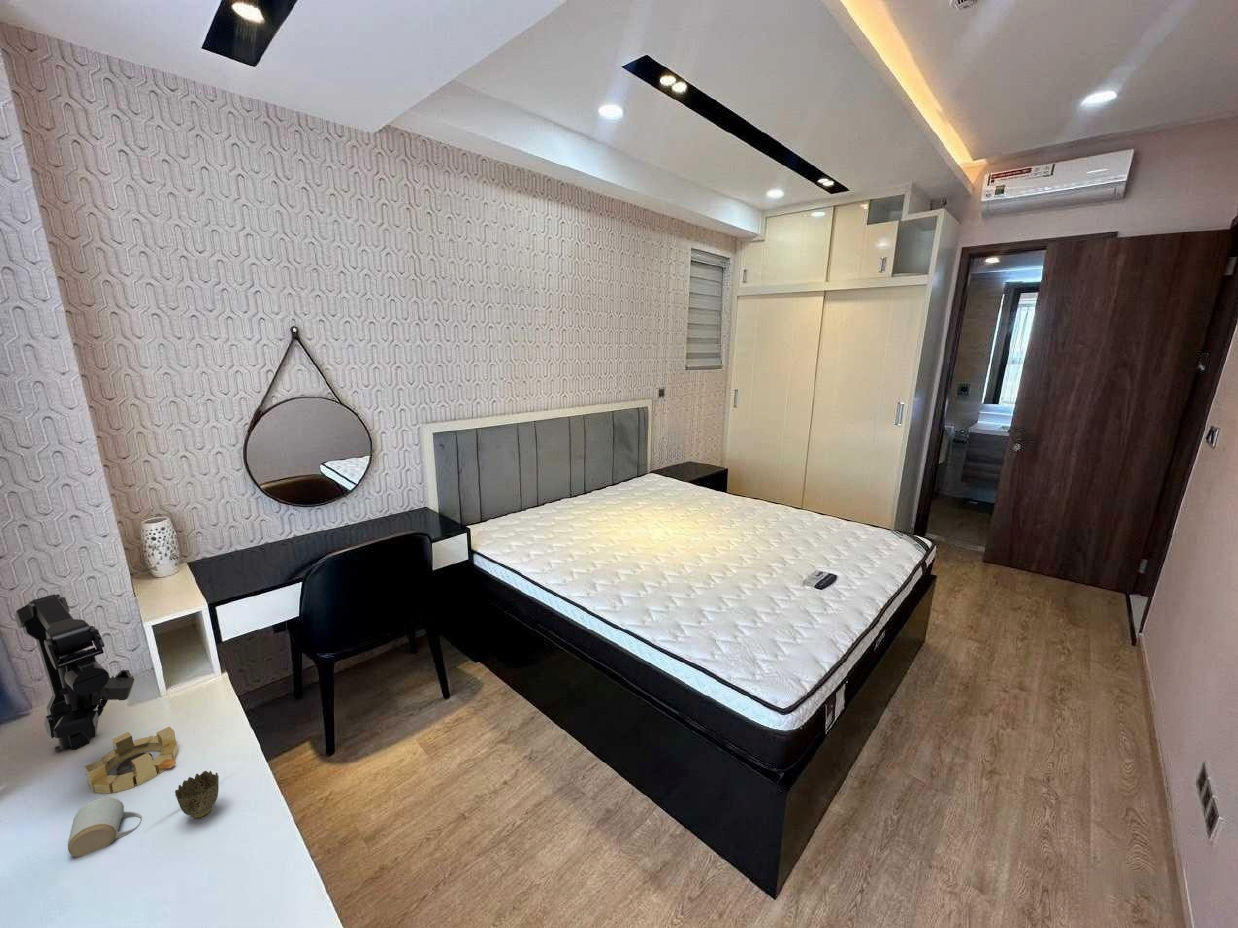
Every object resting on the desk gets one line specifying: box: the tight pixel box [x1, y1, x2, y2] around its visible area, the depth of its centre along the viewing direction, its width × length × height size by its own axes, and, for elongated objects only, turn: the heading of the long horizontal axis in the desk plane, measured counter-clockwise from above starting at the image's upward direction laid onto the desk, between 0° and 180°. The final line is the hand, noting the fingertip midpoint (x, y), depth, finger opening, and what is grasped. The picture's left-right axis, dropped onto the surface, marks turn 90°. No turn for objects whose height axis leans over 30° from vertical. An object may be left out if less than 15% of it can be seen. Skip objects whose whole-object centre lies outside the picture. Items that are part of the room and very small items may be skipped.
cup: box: [174, 770, 220, 820], centre depth 113 cm, size 8×7×8 cm
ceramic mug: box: [67, 797, 143, 858], centre depth 107 cm, size 11×8×8 cm
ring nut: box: [84, 726, 179, 795], centre depth 124 cm, size 16×16×5 cm
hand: (92, 736), depth 120 cm, fingers closed
